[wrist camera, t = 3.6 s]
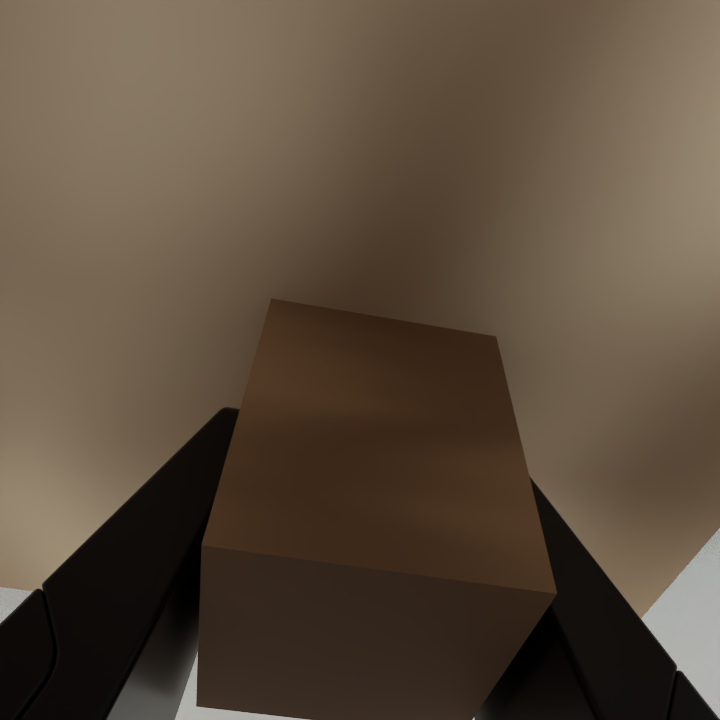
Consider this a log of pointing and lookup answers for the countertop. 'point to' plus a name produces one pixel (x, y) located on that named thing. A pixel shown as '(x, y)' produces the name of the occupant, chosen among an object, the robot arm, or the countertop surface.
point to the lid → (364, 316)
